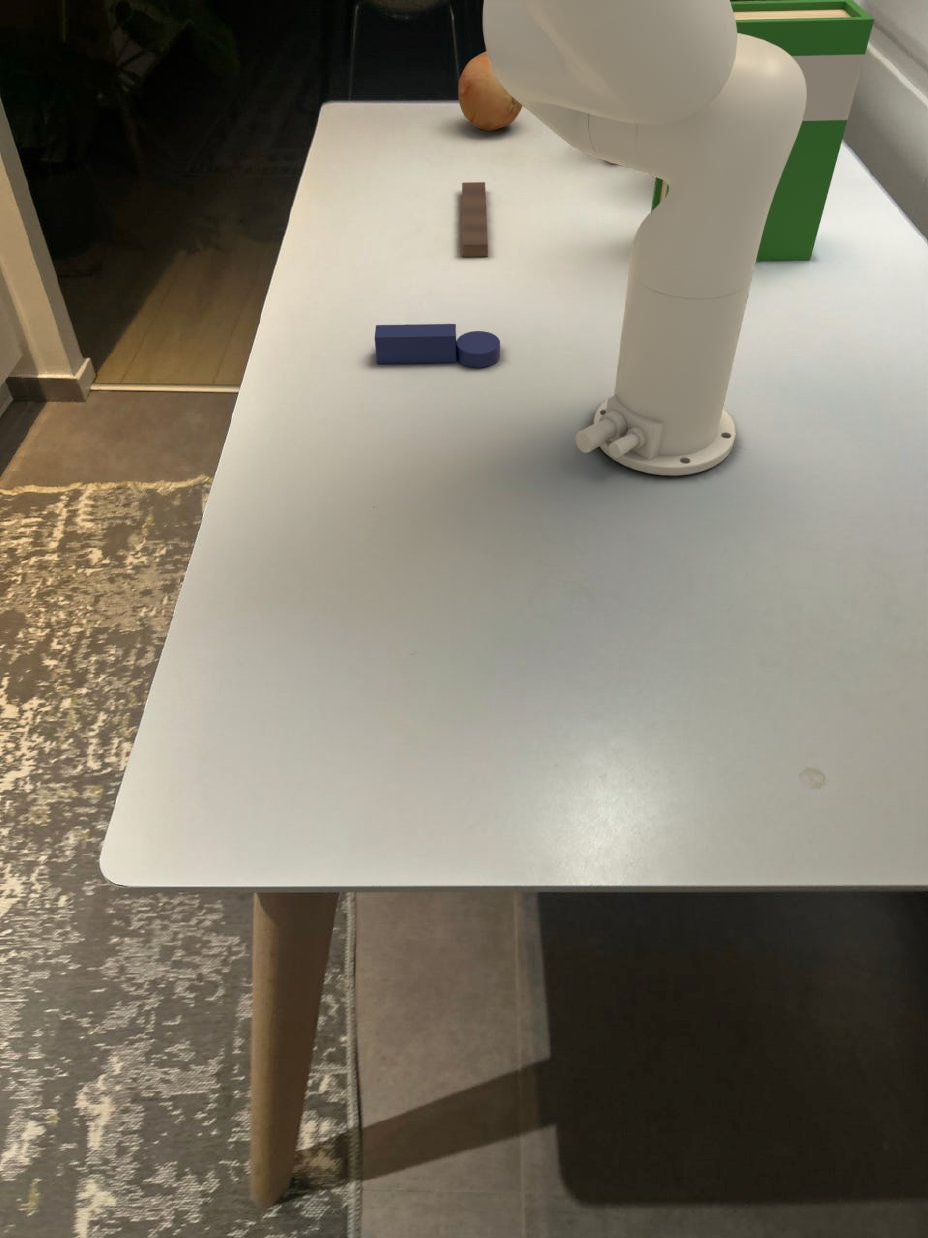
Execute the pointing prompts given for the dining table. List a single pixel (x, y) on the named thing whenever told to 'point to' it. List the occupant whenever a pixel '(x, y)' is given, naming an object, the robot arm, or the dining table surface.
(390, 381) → the dining table surface
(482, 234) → the walnut strip
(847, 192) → the dining table surface
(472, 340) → the blue block and puck
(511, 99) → the onion
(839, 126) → the hardback book
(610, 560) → the dining table surface
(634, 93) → the robot arm
